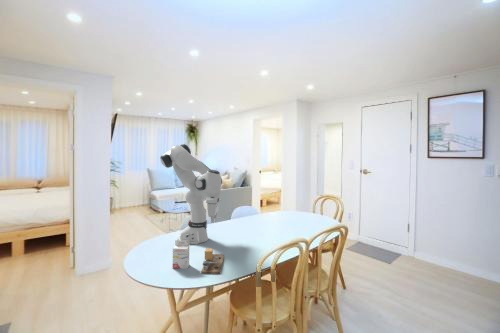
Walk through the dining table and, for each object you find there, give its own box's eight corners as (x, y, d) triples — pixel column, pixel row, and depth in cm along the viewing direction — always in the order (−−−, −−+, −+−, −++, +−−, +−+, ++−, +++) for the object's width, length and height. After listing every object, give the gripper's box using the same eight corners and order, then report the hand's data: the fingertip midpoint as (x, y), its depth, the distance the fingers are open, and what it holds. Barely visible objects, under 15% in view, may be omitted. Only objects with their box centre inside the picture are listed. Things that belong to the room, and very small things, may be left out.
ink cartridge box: (172, 268, 138) (172, 243, 137) (174, 264, 143) (174, 239, 142) (187, 268, 138) (187, 243, 137) (189, 264, 143) (189, 240, 142)
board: (201, 273, 134) (201, 265, 133) (208, 255, 156) (208, 249, 155) (219, 273, 134) (219, 266, 133) (224, 256, 156) (224, 249, 155)
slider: (204, 262, 143) (204, 251, 143) (205, 259, 147) (206, 248, 146) (218, 262, 143) (218, 251, 142) (218, 259, 147) (219, 248, 146)
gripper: (211, 194, 157) (211, 215, 158) (205, 200, 137) (205, 225, 137) (221, 194, 157) (221, 215, 158) (216, 200, 137) (217, 225, 137)
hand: (214, 220), depth 147 cm, fingers open, 8 cm apart
